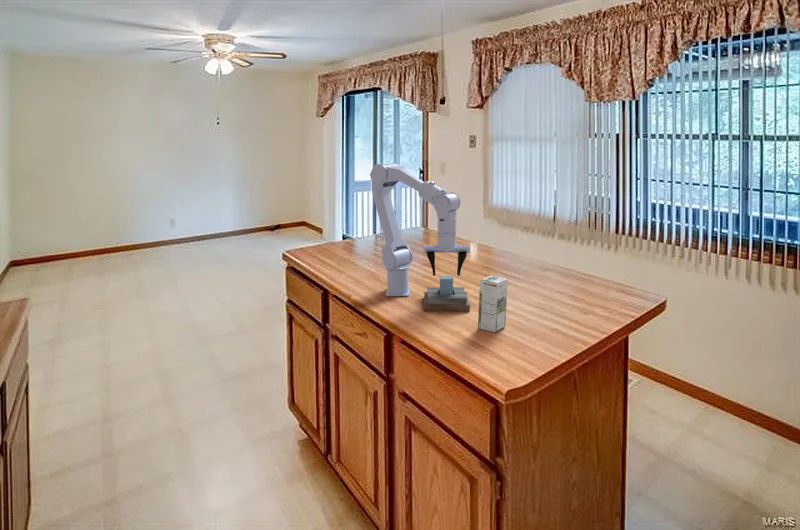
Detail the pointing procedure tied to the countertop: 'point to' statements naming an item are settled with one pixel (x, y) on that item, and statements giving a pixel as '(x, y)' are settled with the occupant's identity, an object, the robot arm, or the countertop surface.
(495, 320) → the syrup box
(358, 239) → the countertop surface
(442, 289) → the blue peg
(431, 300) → the socket block
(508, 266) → the countertop surface
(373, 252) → the countertop surface
